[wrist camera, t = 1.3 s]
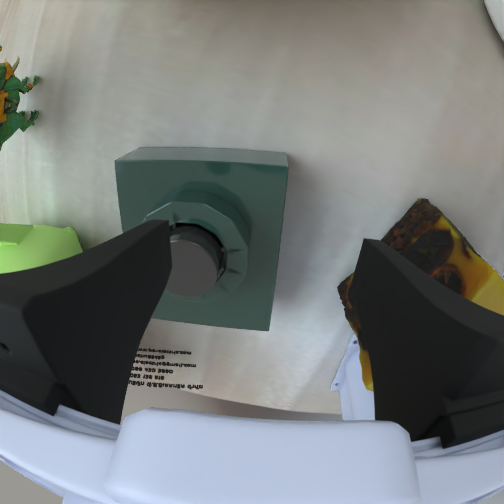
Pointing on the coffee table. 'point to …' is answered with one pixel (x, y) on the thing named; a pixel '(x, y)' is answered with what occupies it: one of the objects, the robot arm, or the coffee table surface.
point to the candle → (432, 266)
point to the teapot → (35, 246)
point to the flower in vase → (496, 14)
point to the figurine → (12, 101)
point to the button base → (213, 223)
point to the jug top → (193, 261)
